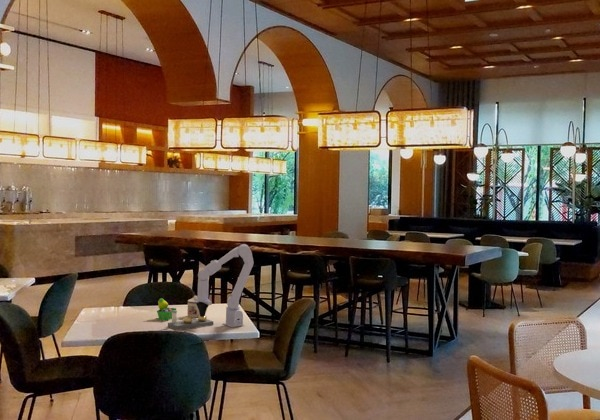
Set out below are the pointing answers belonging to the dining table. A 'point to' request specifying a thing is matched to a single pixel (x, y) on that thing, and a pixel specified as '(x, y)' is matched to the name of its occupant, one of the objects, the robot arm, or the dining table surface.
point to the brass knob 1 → (187, 320)
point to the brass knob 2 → (202, 318)
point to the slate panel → (190, 324)
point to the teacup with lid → (193, 308)
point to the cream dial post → (174, 316)
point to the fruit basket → (164, 310)
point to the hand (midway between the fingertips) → (202, 316)
